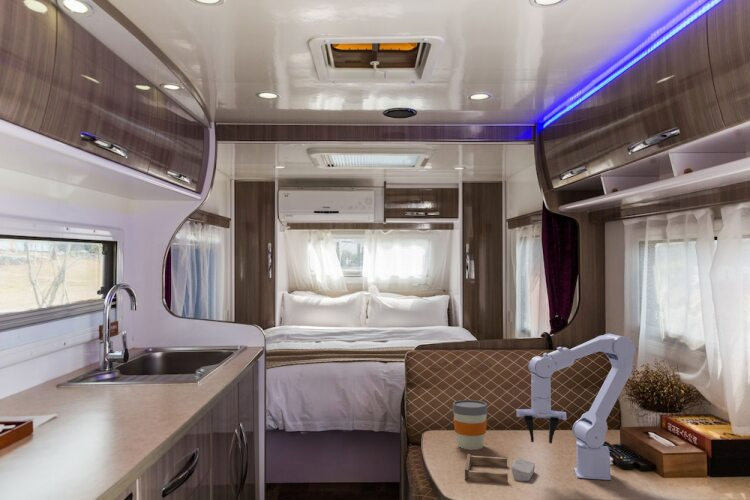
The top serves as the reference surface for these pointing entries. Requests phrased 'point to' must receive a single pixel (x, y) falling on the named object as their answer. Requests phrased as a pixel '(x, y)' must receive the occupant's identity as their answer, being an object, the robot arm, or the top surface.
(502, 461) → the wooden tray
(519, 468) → the white rough stone
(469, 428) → the reusable coffee cup
